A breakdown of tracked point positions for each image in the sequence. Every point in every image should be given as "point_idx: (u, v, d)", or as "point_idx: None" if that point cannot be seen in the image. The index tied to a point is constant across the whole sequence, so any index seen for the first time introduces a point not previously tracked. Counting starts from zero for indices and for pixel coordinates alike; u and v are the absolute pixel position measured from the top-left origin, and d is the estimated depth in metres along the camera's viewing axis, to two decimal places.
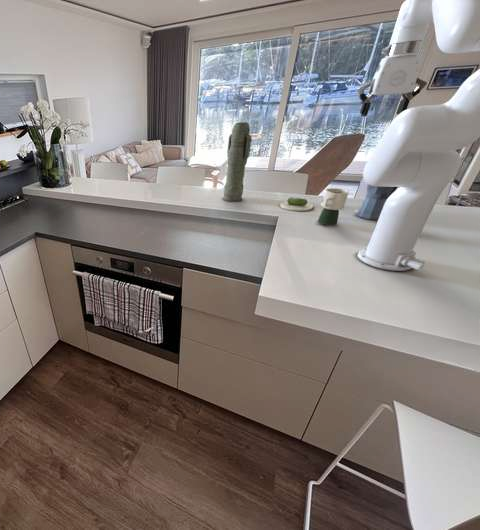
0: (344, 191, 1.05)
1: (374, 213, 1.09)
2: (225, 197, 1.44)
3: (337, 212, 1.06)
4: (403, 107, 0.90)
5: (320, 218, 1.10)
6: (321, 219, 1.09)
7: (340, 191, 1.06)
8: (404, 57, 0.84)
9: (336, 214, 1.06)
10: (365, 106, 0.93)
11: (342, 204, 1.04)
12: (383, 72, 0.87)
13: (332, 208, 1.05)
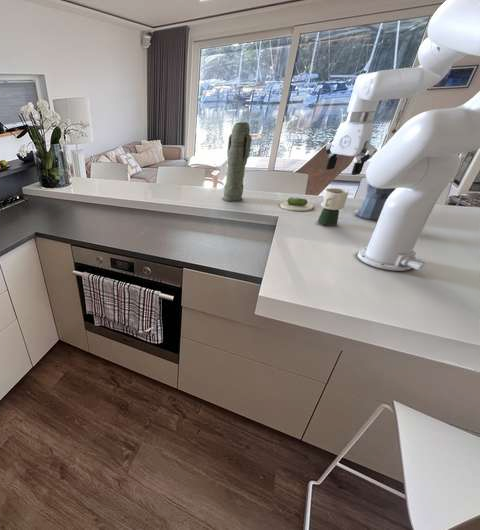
0: (344, 191, 1.05)
1: (374, 213, 1.09)
2: (225, 197, 1.44)
3: (337, 212, 1.06)
4: (353, 168, 0.96)
5: (320, 218, 1.10)
6: (321, 219, 1.09)
7: (340, 191, 1.06)
8: (350, 124, 0.93)
9: (336, 214, 1.06)
10: None
11: (342, 204, 1.04)
12: (336, 135, 0.98)
13: (332, 208, 1.05)
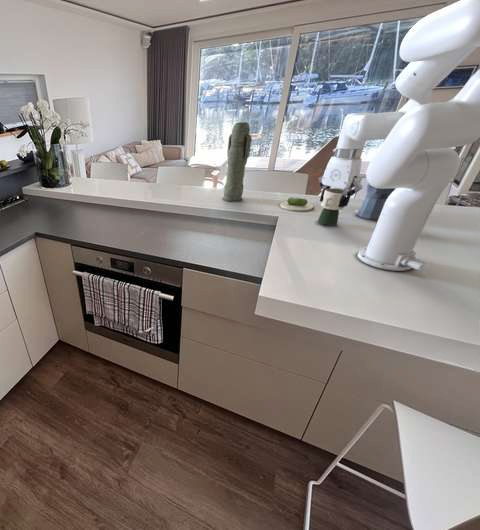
0: None
1: (374, 213, 1.09)
2: (225, 197, 1.44)
3: (337, 212, 1.06)
4: (340, 201, 1.03)
5: (320, 218, 1.10)
6: (321, 219, 1.09)
7: (340, 191, 1.06)
8: (339, 160, 0.99)
9: (336, 214, 1.06)
10: None
11: None
12: (327, 168, 1.04)
13: (332, 208, 1.05)
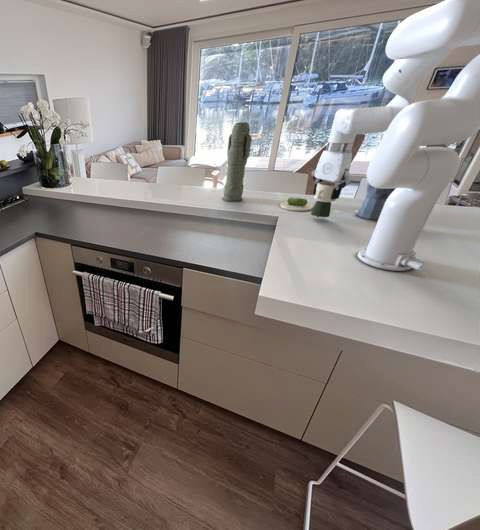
0: None
1: (374, 213, 1.09)
2: (225, 197, 1.44)
3: (329, 204, 1.10)
4: (332, 194, 1.06)
5: (313, 210, 1.14)
6: (314, 211, 1.13)
7: (332, 184, 1.10)
8: (331, 153, 1.02)
9: (328, 206, 1.10)
10: None
11: None
12: (319, 161, 1.07)
13: (324, 200, 1.09)
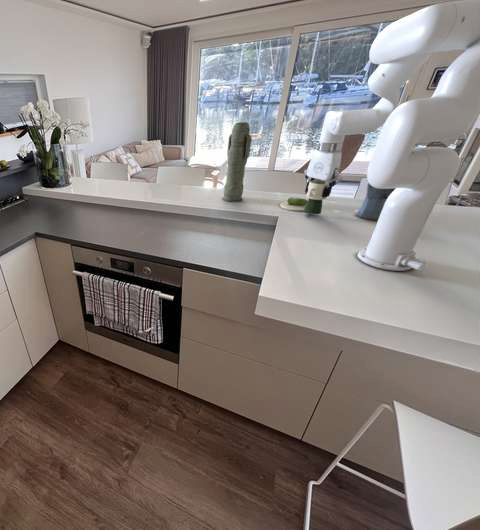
0: None
1: (374, 213, 1.09)
2: (225, 197, 1.44)
3: (321, 202, 1.15)
4: (323, 192, 1.11)
5: (305, 208, 1.19)
6: (306, 209, 1.18)
7: (323, 182, 1.15)
8: (322, 153, 1.07)
9: (320, 204, 1.15)
10: None
11: None
12: (311, 161, 1.12)
13: (316, 198, 1.13)
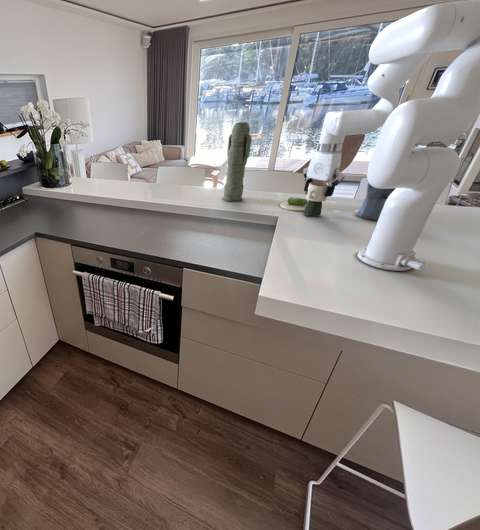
0: (326, 184, 1.14)
1: (374, 213, 1.09)
2: (225, 197, 1.44)
3: (320, 204, 1.15)
4: (326, 191, 1.10)
5: (305, 209, 1.19)
6: (306, 210, 1.18)
7: (323, 184, 1.15)
8: (322, 154, 1.07)
9: (319, 205, 1.15)
10: None
11: (324, 196, 1.13)
12: (311, 162, 1.12)
13: (315, 200, 1.14)
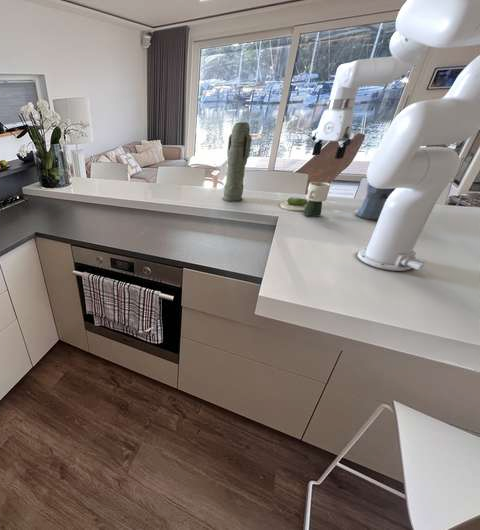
0: (326, 184, 1.14)
1: (374, 213, 1.09)
2: (225, 197, 1.44)
3: (320, 204, 1.15)
4: (336, 152, 1.03)
5: (305, 209, 1.19)
6: (306, 210, 1.18)
7: (323, 184, 1.15)
8: (332, 111, 1.01)
9: (319, 205, 1.15)
10: None
11: (324, 196, 1.13)
12: (321, 122, 1.05)
13: (315, 200, 1.14)
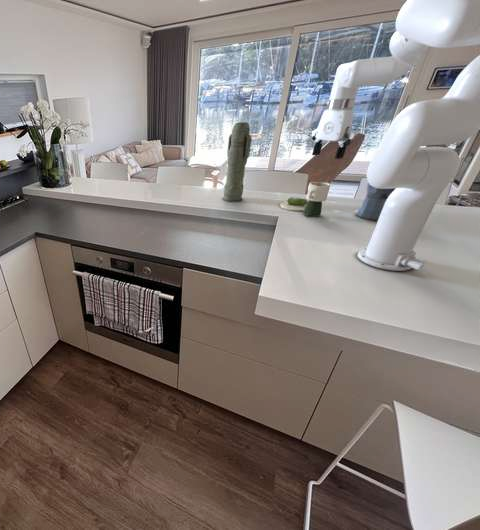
0: (326, 184, 1.14)
1: (374, 213, 1.09)
2: (225, 197, 1.44)
3: (320, 204, 1.15)
4: (336, 152, 1.03)
5: (305, 209, 1.19)
6: (306, 210, 1.18)
7: (323, 184, 1.15)
8: (332, 111, 1.01)
9: (319, 205, 1.15)
10: None
11: (324, 196, 1.13)
12: (321, 122, 1.05)
13: (315, 200, 1.14)
